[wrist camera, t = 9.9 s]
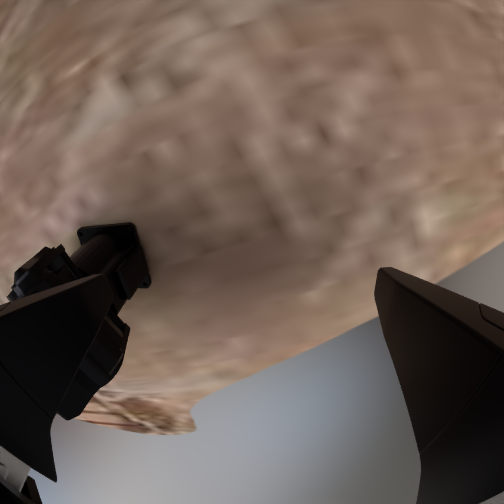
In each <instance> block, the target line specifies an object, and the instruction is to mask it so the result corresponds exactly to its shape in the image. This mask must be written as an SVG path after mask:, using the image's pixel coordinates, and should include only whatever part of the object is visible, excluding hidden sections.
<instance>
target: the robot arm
mask: <svg viewBox="0 0 504 504" xmlns="http://www.w3.org/2000/svg"><path fill="white" fill-rule="evenodd" d="M128 228H130V229H131V231H130V230H128ZM82 233H83V234H82ZM77 235H78V238H79V240H80V243H81V247H80V248H79V249H78V250H77V251H76V252H75V253H73V254H72V255H71V256H70V257H69V256H68V254H67V253H66V252H65V248H64V247H63V245H62V244H60V245H59V246H58V247H57V248H56V249H55V248H54V247H53V248H52V249H50V248H48V247H46V246H45V247H44V248H43V249H42V250H41V251H40V252H38V253H37V254H36V255H35V256H34V257H33V258H31V259H30V260H29V261H28V262H26V263H25V264H24V265H22V266H21V267H20V268H19V269H18V270H17V271H16V272H15V273H14V285H13V286H12V287H11V289H12V291H11V293H10V294H9V295H8V296H7V298H8V300H9V301H10V302H8V303H5V304H2V305H0V504H42V501H41V498H40V495H39V492H38V489H37V486H36V483H35V480H34V479H33V478H31V477H30V476H28V473H29V471H30V468H32V469H34V470H36V471H37V472H39V473H40V474H42V475H44V476H45V477H47V478H49V479H50V480H52V481H54V482H57V475H56V470H55V464H54V458H53V451H52V444H51V435H50V429H51V425H52V421H53V419H54V417H55V415H56V414H59V415H60V416H61V417H63V418H64V419H65V420H71V419H73V418H75V417H77V416H79V415H80V414H81V413H82V411H83V410H84V408H85V407H86V405H87V404H88V402H89V401H90V399H91V398H92V397H93V395H94V394H95V393H96V392H97V391H98V390H99V389H100V388H101V387H103V386H105V385H106V384H107V383H109V382H110V381H111V380H112V379H113V378H114V376H115V375H116V374H117V372H118V371H119V369H120V367H121V365H122V362H123V359H124V354H125V349H126V345H127V341H128V336H129V332H130V327H129V326H128V325H127V324H126V323H124V322H123V321H122V320H121V319H120V318H119V317H118V316H117V315H118V313H119V311H120V310H121V308H122V307H123V305H124V304H125V302H126V300H130V299H131V298H132V296H133V294H134V293H135V291H136V290H137V288H149V287H150V285H151V279H150V276H149V273H148V271H149V270H148V267H147V264H146V260H145V257H144V254H143V250H142V247H141V246H140V243H139V240H138V236H137V233H136V229H135V226H134V225H133V224H132V223H120V224H109V225H99V226H89V227H81V228H80V229H78V231H77ZM145 282H146V283H145ZM374 296H375V302H376V306H377V310H378V314H379V318H380V322H381V327H382V331H383V335H384V338H385V341H386V344H387V346H388V349H389V352H390V355H391V358H392V360H393V364H394V367H395V369H396V373H397V376H398V379H399V382H400V385H401V389H402V391H403V395H404V399H405V402H406V405H407V408H408V412H409V415H410V419H411V423H412V427H413V431H414V435H415V439H416V442H417V447H418V451H419V454H420V461H421V477H420V484H419V491H418V496H417V502H416V504H504V313H503V312H501V311H498V310H496V309H494V308H491V307H489V306H487V305H484V304H482V303H480V304H479V303H478V302H476V301H474V300H471V299H469V298H467V297H464V296H462V295H459V294H457V293H455V292H452V291H449V290H447V289H445V288H442V287H440V286H438V285H435V284H433V283H430V282H428V281H425V280H423V279H420V278H418V277H415V276H413V275H410V274H408V273H405V272H402V271H400V270H397V269H395V268H392V267H383V268H379V270H378V273H377V279H376V285H375V291H374Z"/></svg>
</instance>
